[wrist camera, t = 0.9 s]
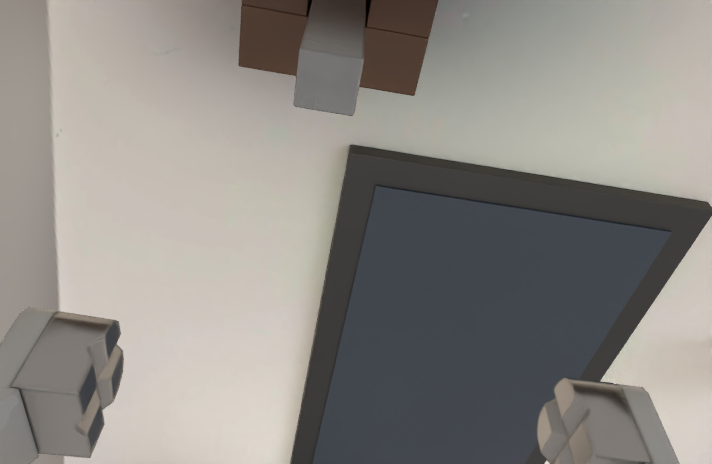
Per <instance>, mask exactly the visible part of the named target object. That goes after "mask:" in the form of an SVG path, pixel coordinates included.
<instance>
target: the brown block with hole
mask: <svg viewBox="0 0 712 464" xmlns="http://www.w3.org/2000/svg"><path fill="white" fill-rule="evenodd" d="M312 1H313V0H242V6H241V26H240V46H239V66H241V67H247V68H253V69H259V70H265V71H270V72H276V73H282V74H288V75H294V76H297V68H298V59H299V51H300V46H301V43H302V39H303V35H304V31H305V27H306V23H307V20H308V16H309V12H310V8H311V4H312ZM437 4H438V0H366V10H365V41H364V63H363V68H362V74H361V79H360V84H359V87H364V88H370V89H376V90H382V91H388V92H394V93H400V94H406V95H411V96H414V95H415V91H416V87H417V83H418V79H419V75H420V71H421V67H422V63H423V59H424V55H425V51H426V47H427V43H428V38H429V36H430V32H431V28H432V24H433V20H434V16H435V12H436V8H437Z"/></svg>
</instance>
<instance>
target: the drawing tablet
mask: <svg viewBox="0 0 712 464" xmlns="http://www.w3.org/2000/svg"><path fill="white" fill-rule="evenodd" d="M711 216H712V207H711V206H710V204H709V203H707V202H701V201H695V200H689V199H683V198H676V197H670V196H664V195H658V194H652V193H645V192H639V191H633V190H627V189H621V188H615V187H608V186H602V185H596V184H590V183H584V182H577V181H571V180H565V179H559V178H553V177H546V176H540V175H534V174H528V173H522V172H515V171H509V170H503V169H497V168H491V167H484V166H478V165H472V164H466V163H460V162H454V161H447V160H441V159H435V158H429V157H423V156H416V155H410V154H404V153H398V152H392V151H385V150H379V149H373V148H367V147H361V146H354V145H350V149H349V155H348V160H347V165H346V171H345V176H344V181H343V187H342V192H341V197H340V203H339V208H338V213H337V219H336V224H335V229H334V234H333V240H332V245H331V250H330V256H329V261H328V266H327V272H326V277H325V282H324V288H323V293H322V298H321V304H320V309H319V314H318V319H317V325H316V330H315V335H314V341H313V346H312V351H311V357H310V362H309V367H308V373H307V378H306V383H305V389H304V394H303V399H302V404H301V410H300V415H299V420H298V426H297V431H296V436H295V442H294V447H293V452H292V458H291V463H290V464H544V463H545V462H546V460H547V459H546V458H545V457H544V456H543V455H542V454H541V453H540V449H539V445H538V440H537V423H538V417H539V413H540V412H541V410H542V408H543V406H544V404H545V403H547V402H549V401H551V400H553V399H554V398H556V396H555V393H554V388H555V386H556V384H557V383H558V381H559V380H561V379H563V378H573V379H582V380H590V381H599V382H600V380H601V379H602V377H603V376H604V374H605V373H606V371H607V370H608V368H609V367H610V365H611V364H612V362H613V361H614V359H615V358H616V356H617V355H618V354H619V352H620V351H621V349H622V348H623V346H624V345H625V343H626V342H627V340H628V339H629V337H630V336H631V334H632V333H633V331H634V330H635V328H636V327H637V325H638V324H639V322H640V321H641V319H642V318H643V317H644V315H645V314H646V312H647V311H648V309H649V308H650V306H651V305H652V303H653V302H654V300H655V299H656V297H657V296H658V294H659V293H660V291H661V290H662V288H663V287H664V285H665V284H666V282H667V281H668V280H669V278H670V277H671V275H672V274H673V272H674V271H675V269H676V268H677V266H678V265H679V263H680V262H681V260H682V259H683V257H684V256H685V254H686V253H687V251H688V250H689V248H690V247H691V245H692V244H693V243H694V241H695V240H696V238H697V237H698V235H699V234H700V232H701V231H702V229H703V228H704V226H705V225H706V223H707V222H708V220H709V219H710V217H711Z"/></svg>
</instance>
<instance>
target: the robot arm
mask: <svg viewBox="0 0 712 464" xmlns="http://www.w3.org/2000/svg"><path fill="white" fill-rule="evenodd" d="M120 334H121V332H120V326H119V321H116V320H111V319H105V318H98V317H92V316H85V315H79V314H73V313H66V312H60V311H52V310H45V309H38V308H31V307H28V308H27V309H25V310H24V311H23V312H22V313H20V314H19V316H18V317H17V319H16V320H15V322H14V323H13V325H12V326H11V328H10V329H9V331H8V332H7V334H6V336H5V337H4V339H3V340H2V342H1V343H0V464H31V463H32V462H33V461H34V460H35V459H37V458H38V456H39V455H38V454H50V455H62V456H73V457H85V458H90V457H91V455H92V452H93V450H94V448H95V445H96V443H97V440H98V438H99V436H100V433H101V431H102V428H103V426H104V418H103V411H102V410H103V409H104V408H106V407H107V406H108V405H110V404H111V403H112V402H114V399H115V397H116V394H117V391H118V389H119V385H120V381H121V377H122V373H123V362H124V358H123V350H122V349H121V348H120V347H119V346H118V345H117V341H118V339H119V337H120ZM554 393H555V396H556V398H554V399H553V400H551V401H549V402H547V403H545V404H544V406H543V408H542V410H541V412H540V413H539V417H538V423H537V440H538V445H539V449H540V453H541V454H542V455H543V456H544V457H545V458H546V459H547V461H548V462H549V463H550V464H680V463H679V461H678V459H677V457H676V454H675V452H674V450H673V448H672V445H671V443H670V441H669V439H668V436H667V434H666V432H665V430H664V427H663V425H662V423H661V421H660V418H659V416H658V414H657V412H656V409H655V407H654V405H653V402H652V400H651V398H650V396H649V394H648V392H647V391H646V390H645V389H644V388H643V387H636V386H628V385H620V384H613V383H608V382H599V381H590V380H582V379H573V378H563V379H561V380H559V381H558V383H557V384H556V386H555V388H554Z"/></svg>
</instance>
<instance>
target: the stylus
mask: <svg viewBox="0 0 712 464" xmlns="http://www.w3.org/2000/svg"><path fill="white" fill-rule="evenodd" d="M365 10H366V0H313V1H312V4H311V8H310V12H309V16H308V20H307V23H306V27H305V31H304V35H303V39H302V43H301V46H300V51H299V59H298V68H297V77H296V85H295V94H294V103H293V104H294V106H295V107H300V108H306V109H312V110H318V111H325V112H331V113H337V114H343V115H349V116H353V115H354V111H355V106H356V101H357V95H358V90H359V84H360V79H361V74H362V68H363V63H364V41H365Z"/></svg>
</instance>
